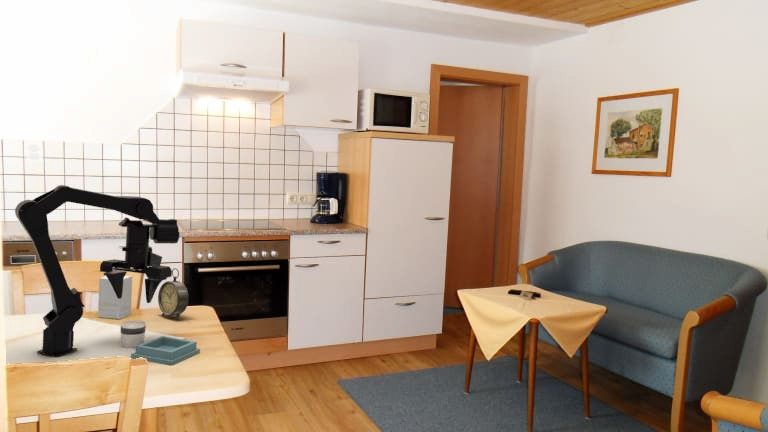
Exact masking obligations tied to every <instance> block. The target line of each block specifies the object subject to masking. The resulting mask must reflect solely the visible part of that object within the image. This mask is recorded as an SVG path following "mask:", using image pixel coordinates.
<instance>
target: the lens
mask: <svg viewBox="0 0 768 432" xmlns="http://www.w3.org/2000/svg"><path fill="white" fill-rule="evenodd" d="M146 329H147V327H146V322H145V321H143V320H137V319H136V320H125V321H123V322H121V324H120V344H119V346H120V347H121V348H124V349H136V346H137V345H140V344H142V343H145V339H146V337H145V336H146Z"/></svg>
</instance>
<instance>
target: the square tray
mask: <svg viewBox="0 0 768 432" xmlns="http://www.w3.org/2000/svg"><path fill="white" fill-rule="evenodd" d="M197 343H198V341H195V340H188V339H182V338H176V337H171V336H164V335H161V336H159V337H157V338H154V339H151V340H147V341H146V342H145V341H144V343H142V344H140V345H137V346H136V348H134V349H135V352H132V353H131V354H130V358H131V359H134V358H139V357H143V358H146V359H147V360H148V361H147V362H150V363H151V362H152V363H157V364H163V365H167V366H173V365H176V364H178V363H180V362H182V361H185V360H186V359H189V358H191V357H193V356H195V355H198V354H199V353H201V349H200V348H197Z"/></svg>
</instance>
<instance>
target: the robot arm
mask: <svg viewBox="0 0 768 432" xmlns="http://www.w3.org/2000/svg"><path fill="white" fill-rule="evenodd" d="M68 202H69V203H75V204H79V205H84V206H90V207H94V208H101V209H105V210H112V211H115V212H118V213H121V214H124V215H127V216H129V217H132V218H135V219H138V220H132V219H130V218H128V217H124V219H122V220H121V221H120V222H119V223H118V226H119V227H122V228H126V235H125V236H126V237H125V246H123V247H122V248H121V249H122V250H121V251H122V252H125V253H124V260H123V259H122V260H121V259H116V258H115V259H114V258H113V259H108V260H102V262H101V263H100V264H99V272H101V273H103V276H107V278H108V280H109V282H110V283H111V285H112V287H113V289H114V291H115V294H116V296H117V298H118V299H120V298H122V293H123V279H124V276H127V272H129V273H137V274H145V276H146V277H147V278H144V287H145V290H144V291H145V299H146V303H147V304H150V303H152V300H153V298H154V295H155V293H156V291H157V289H158V287H159V285H160V284H161V283H162V282H163V281H165V280H166V281H167V279H168V278H171V277H173V275H172V270H173V269H172V268H171V267H170V266H167V265H161V263H162V259H163V256H161V255H159V254H157V253H154V252H153V247H151V246H150V240H153V243H154V244H177V243H178V242H179V239H180V231H179V230H180V229H179V226H178V219H174V218H169V219H162V218H161V219H160V218H159V217H158V215H157V214H156V212H155V211H154V205H153V202H152V201H151V200H150V199H148V198H146V197H141V196H136V195H135V196H134V195H133V196H130V195H129V196H127V195H110V194H106V193H100V192H96V191H91V190H85V189H80V188H74V187H70V186H68V185H65V184H64V185H63V184H60V185H59V184H58V185H57V186H55V188H53V189H51V190H49V191H47V192H45V193H43V194H41V195H39V196H37V197H35V198H34V199H26V200H22V201H20V202H19V203H17V205H16V207H15V208H14V209H15V210H14V212H15V217H16V218H17V220H18V221H19V222H20V224H21V226H22V227H23V229H24V231H25V232H26V234H27V235H28V236H29V238H30V240H31V242H32V245H33V247H34V250H35V253H36V255H37V258H38V260H39V263H40V265H41V267H42V271H43V273H44V276H45V278H46V281H47V283H48V286H49V288H50V296H51V298H50V299H51V304H52V309H51V310H49V311H48V313H46V314H45V315H44V316H43V317H42V320H43V323H44V325H46V327H45V329H42V349H40V350H37V354H41V355H47V356H50V357H57V358H58V357H61V356H64V355H68V354H70V353H73V352H76V351H78V348H76V347H74V337H75V335H74V333H75V332H74V326H75V325H76V323H77V322H79V321H80V320H81V318H82V317H83V315H84V310H83V309H84V308H85V304H84V303H83V302H82V298H81V293H80V291H79V290H77V288H76V287H73V288H70V287H69V285H68V282H67V279H66V277H65V274H64V272H63V268H62V267H61V264H60V261H59V259H58V256H57V253H56V251H55V248H54V245H53V242H52V239H51V237H50V232H49V221H48V215H49V214H51V213H52V212H54V211H55V210H57V209H58V208H59V207H61V206H62V205H64V204H66V203H68ZM141 220H143V221H145V222H147V223H149V224H147V223H146V224H145V223H144V224H143V221H141Z"/></svg>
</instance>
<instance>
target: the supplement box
mask: <svg viewBox="0 0 768 432" xmlns="http://www.w3.org/2000/svg"><path fill="white" fill-rule="evenodd" d="M132 292H133V276H131V275H125V276H124V279H123V293H122V298H120V299H118V298H117V296H116V294H115V291H114V289H113V287H112V285H111V283H110V282H109V280H108V278H107V276H106V275H104V276H102V277H100V278H99V279H98V307H97V308H98V310H97V311H98V312H97V317H98V318H104V319H114V320H115V319H117V320H120V319H121V320H122V319H123V318H125V317H129V316H131V314H132V300H133V299H132V296H133V293H132Z"/></svg>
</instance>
